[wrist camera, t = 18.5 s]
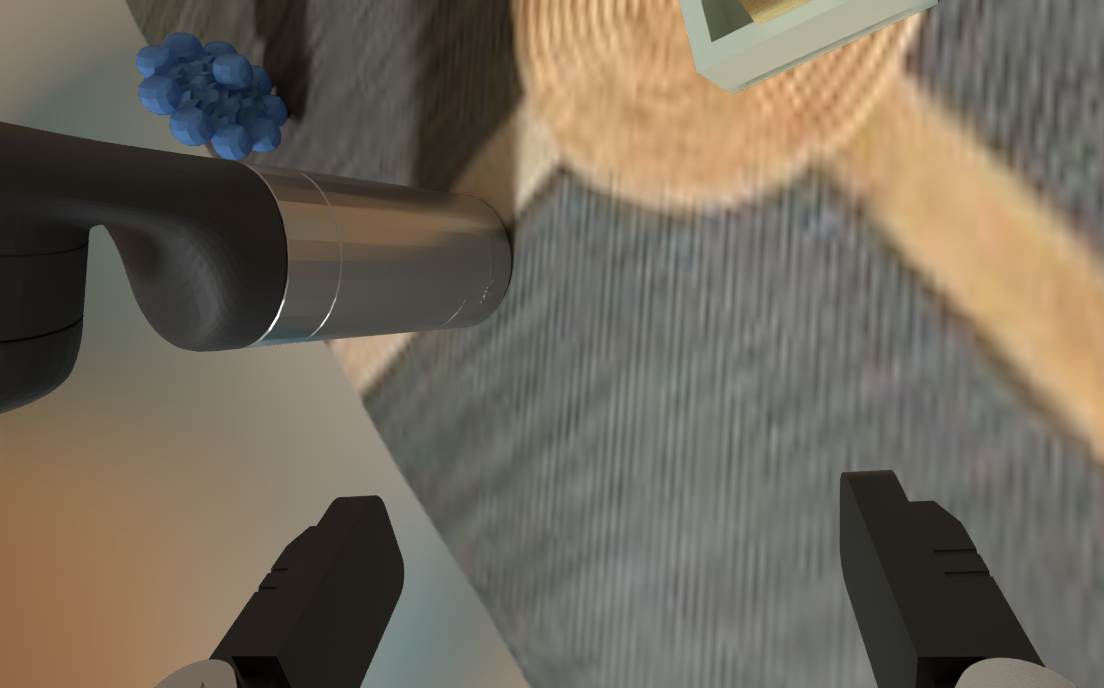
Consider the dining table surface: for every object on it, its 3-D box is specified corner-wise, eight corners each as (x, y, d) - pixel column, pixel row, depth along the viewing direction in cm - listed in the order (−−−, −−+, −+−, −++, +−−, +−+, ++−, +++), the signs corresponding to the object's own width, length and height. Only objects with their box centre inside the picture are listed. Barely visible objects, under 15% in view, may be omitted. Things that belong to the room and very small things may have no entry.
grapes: (340, 134, 54) (189, 102, 44) (295, 187, 58) (146, 168, 48) (285, 20, 57) (130, -34, 47) (245, 77, 60) (94, 38, 50)
